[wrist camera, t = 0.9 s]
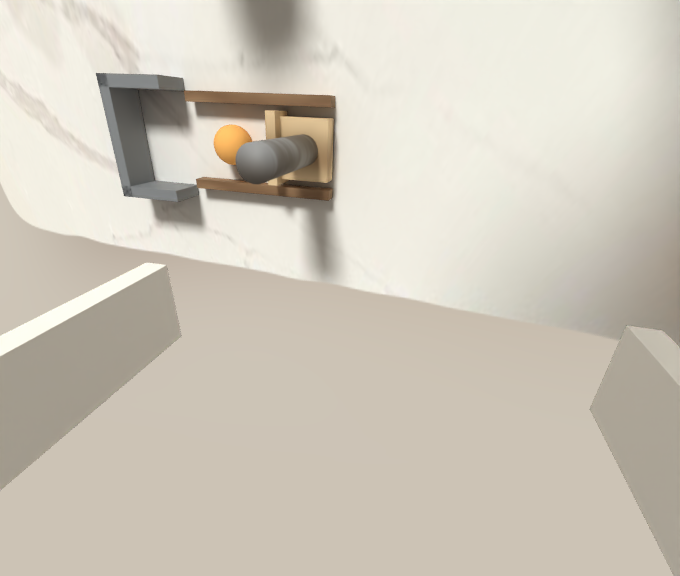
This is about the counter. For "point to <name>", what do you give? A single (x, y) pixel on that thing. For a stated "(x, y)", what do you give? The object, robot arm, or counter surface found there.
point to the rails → (265, 100)
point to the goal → (137, 134)
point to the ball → (230, 142)
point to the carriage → (289, 151)
